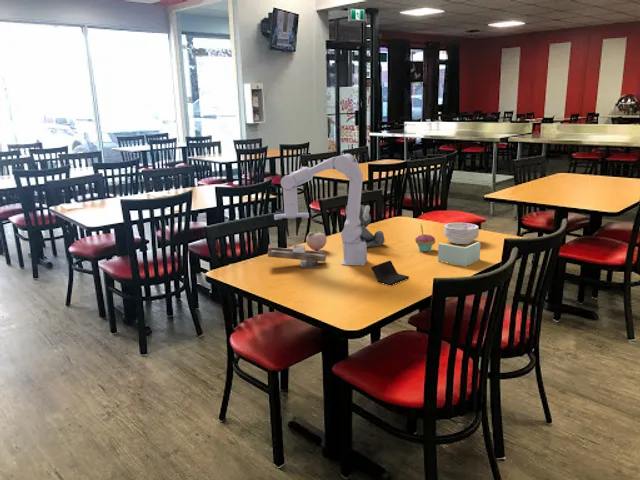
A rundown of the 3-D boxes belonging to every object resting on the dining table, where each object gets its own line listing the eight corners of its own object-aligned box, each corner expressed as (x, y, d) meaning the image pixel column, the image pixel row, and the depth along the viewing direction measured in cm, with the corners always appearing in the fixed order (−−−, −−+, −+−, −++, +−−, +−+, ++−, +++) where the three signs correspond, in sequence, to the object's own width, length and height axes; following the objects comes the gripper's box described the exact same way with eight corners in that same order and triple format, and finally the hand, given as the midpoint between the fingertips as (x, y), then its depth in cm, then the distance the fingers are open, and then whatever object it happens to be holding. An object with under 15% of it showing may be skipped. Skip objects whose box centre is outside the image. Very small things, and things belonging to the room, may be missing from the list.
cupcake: (413, 252, 222) (413, 225, 220) (417, 247, 230) (417, 221, 227) (433, 253, 219) (433, 226, 216) (436, 248, 227) (437, 222, 224)
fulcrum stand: (316, 260, 216) (316, 251, 215) (319, 267, 206) (318, 258, 205) (300, 261, 216) (299, 252, 215) (301, 268, 206) (301, 259, 205)
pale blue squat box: (479, 259, 208) (480, 241, 206) (465, 267, 200) (465, 248, 198) (453, 255, 216) (453, 237, 215) (438, 261, 208) (438, 243, 206)
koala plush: (387, 245, 236) (387, 203, 231) (356, 252, 226) (355, 208, 221) (363, 238, 250) (362, 198, 245) (333, 245, 240) (332, 203, 235)
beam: (323, 257, 215) (324, 248, 214) (325, 261, 208) (326, 253, 207) (267, 252, 212) (268, 243, 211) (267, 256, 205) (268, 248, 204)
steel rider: (304, 252, 212) (304, 245, 211) (304, 255, 208) (305, 248, 207) (292, 251, 211) (292, 244, 211) (292, 254, 207) (293, 247, 206)
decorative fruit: (315, 255, 224) (314, 232, 222) (303, 251, 230) (302, 230, 228) (331, 250, 230) (330, 229, 228) (319, 247, 236) (318, 226, 234)
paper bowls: (482, 240, 238) (482, 223, 236) (472, 248, 226) (473, 230, 224) (450, 237, 246) (450, 220, 244) (439, 244, 234) (439, 227, 232)
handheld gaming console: (395, 282, 181) (382, 258, 183) (381, 291, 185) (368, 267, 187) (411, 278, 190) (398, 254, 192) (397, 287, 194) (384, 264, 196)
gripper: (307, 201, 219) (308, 232, 222) (273, 202, 217) (275, 234, 221) (308, 203, 212) (310, 235, 215) (273, 205, 211) (275, 238, 214)
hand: (292, 235), depth 217 cm, fingers open, 3 cm apart
